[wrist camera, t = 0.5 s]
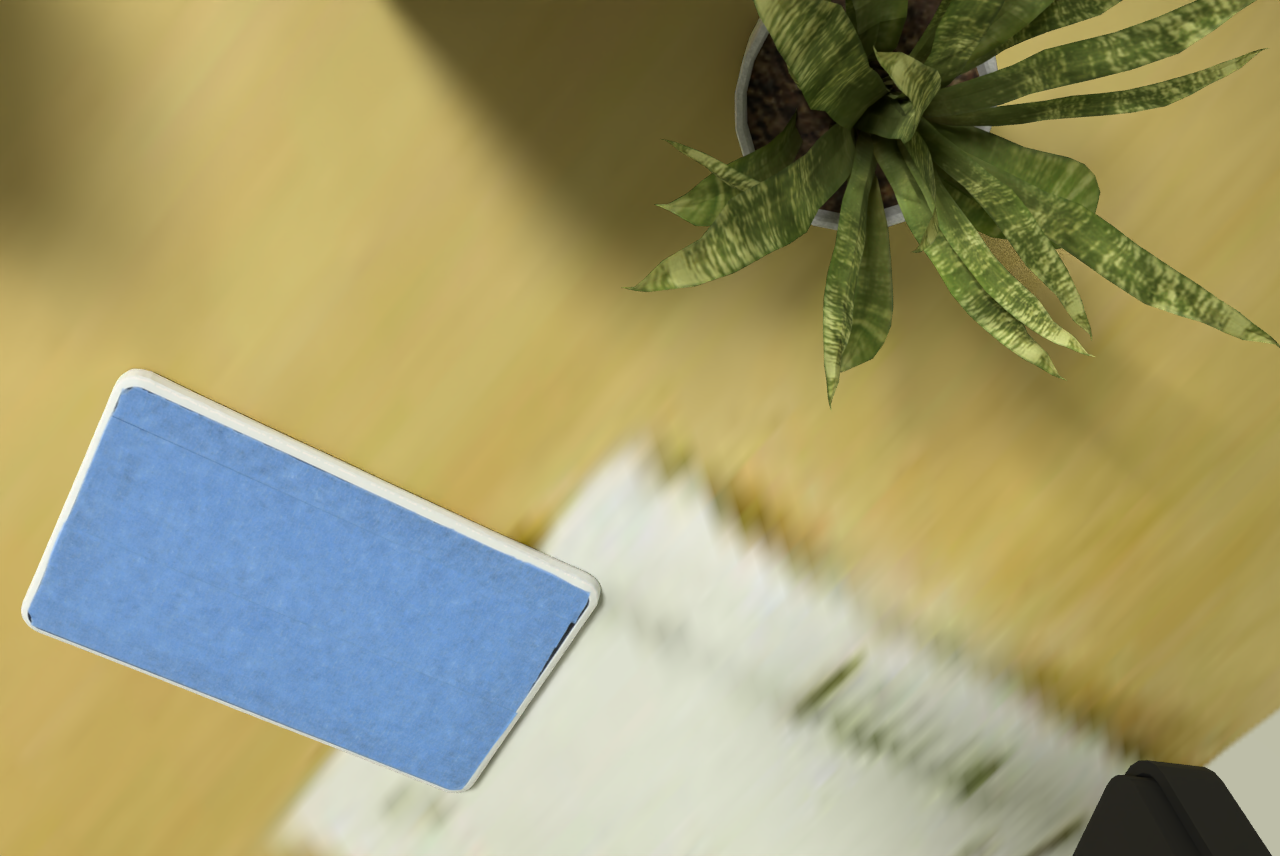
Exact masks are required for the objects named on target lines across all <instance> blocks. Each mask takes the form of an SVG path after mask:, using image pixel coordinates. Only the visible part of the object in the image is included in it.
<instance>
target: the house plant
mask: <svg viewBox="0 0 1280 856" xmlns="http://www.w3.org/2000/svg"><path fill="white" fill-rule="evenodd" d="M1121 1H1122V0H753V2H754V4H755V7H756V9H757V12H758V15H759V17H760V18H759V20H758V22H757V24H756V26H755V27H754V29H753V31H752V33H751V35H750V37H749V40H748V44H747V47H746V51H745V54H744V57H743V61H742V65H741V69H740V74H739V78H738V82H737V86H736V90H735V130H736V134H737V137H738V141H739V144H740V148H741V151H742V154H743V157H741V158H739V159H737V160H735V161H733V162H731V163H729V164H727V165H726V164H724V163H722V162H720V161H719V160H717V159H715V158H713V157H711V156H709V155H707V154H705V153H703V152H700V151H698V150H695V149H693V148H690V147H687V146H685V145H682V144H679V143H676V142H673V141H669V140H666V141H667V142H669V143H670V144H672V145H673V146H674V147H675V148H676V149H678V150H679V151H680V152H682V153H683V154H685V155H687V156H689V157H690V158H692V159H694V160H695V161H697V162H698V163H700V164H702V165H703V166H705V167H706V168H708V169H709V170H710V171H711V172H712V174H711V175H709V176H708V177H707V178H705V179H704V180H703V181H701V182H700V183H699V184H698V185H697V186H695V187H694V188H693V189H692V190H691V191H690V192H688V193H687V194H685V195H684V196H682V197H680V198H678V199H676V200H675V201H673V202H671V203H669V204H654V205H656V206H659V207H661V208H664V209H667V210H669V211H671V212H672V213H674V214H676V215H678V216H679V217H681V218H683V219H685V220H686V221H688V222H690V223H691V224H693V225H695V226H710V227H709V228H708V230H707V231H706V232H705V234H704V235H703V236H702V237H701V239H699V240H697V241H696V242H694V243H692V244H691V245H689V246H687V247H685V248H684V249H682V250H680V251H678V252H677V253H675V254H673V255H671V256H670V257H668V258H666V259H665V260H663V261H662V262H661V263H660V264H659V265H658V266H657V267H656V268H655V269H654V270H653V271H652V272H651V273H650V274H649V275H648V276H647V277H646V278H645V279H644V280H643V281H641V282H640V283H639V284H638V285H636V286H635V287H621V288H625V289H630V290H634V291H644V292H652V291H660V290H668V289H676V288H685V287H693V286H697V285H700V284H703V283H706V282H709V281H712V280H714V279H717V278H720V277H723V276H726V275H729V274H732V273H735V272H737V271H738V270H740V269H742V268H744V267H746V266H747V265H749V264H751V263H753V262H755V261H756V260H758V259H760V258H762V257H764V256H765V255H767V254H769V253H771V252H773V251H775V250H777V249H779V248H781V247H784V246H786V245H788V244H790V243H791V242H793V241H794V240H796V239H797V238H799V237H800V236H802V235H803V234H805V233H806V232H807V231H808V229H809V227H810V225H811V224H812V225H814V226H818V227H823V228H828V229H833V230H837V237H836V243H835V248H834V251H833V255H832V259H831V262H830V266H829V270H828V274H827V280H826V287H825V293H824V306H823V338H824V367H825V373H826V380H827V393H828V400H829V405H830V409H831V402H832V399H833V396H834V393H835V390H836V388H837V385H838V383H839V376H840V372H843V371H846V370H848V369H851V368H853V367H855V366H857V365H859V364H862V363H864V362H866V361H868V360H871V359H873V358H874V356H875V355H876V353H877V352H878V351H879V349H880V348H881V347H882V345H883V344H884V342H885V340H886V337H887V335H888V332H889V329H890V327H891V320H892V312H893V287H892V270H891V256H890V244H889V232H888V227H889V226H892V225H895V224H898V223H901V222H905V221H906V223H907V225H908V227H909V228H910V230H911V232H912V233H913V235H914V236H915V238H916V240H917V241H918V243H919V244H920V245H919V246H918V248H917V249H916V250H915V251H912V252H915V253H917V252H922V251H923V250H924V252H925V253H926V254H927V256H928V257H929V259H930V260H931V262H932V263H933V264H934V266H935V267H936V269H937V271H938V273H939V274H940V276H941V278H942V279H943V281H944V283H945V284H946V286H947V288H948V289H949V291H950V293H951V294H952V295H953V297H954V298H955V299H956V300H957V301H958V302H959V304H960V305H961V306H962V307H963V308H964V310H965V311H966V312H967V313H968V314H969V315H970V316H971V317H972V318H973V319H974V320H975V321H976V322H977V323H978V324H979V325H980V326H981V327H983V328H984V329H985V330H986V331H987V332H988V333H990V334H991V335H992V336H993V337H994V338H996V339H997V340H998V341H999V342H1001V343H1002V344H1003V345H1004V346H1006V347H1007V348H1008V349H1010V350H1011V351H1013V352H1014V353H1015V354H1017V355H1018V356H1020V357H1021V358H1022V359H1024V360H1026V361H1028V362H1030V363H1032V364H1034V365H1036V366H1038V367H1040V368H1041V369H1043V370H1045V371H1046V372H1048V373H1049V374H1051V375H1053V376H1056V377H1058V378H1061V379H1064V378H1062V377H1061V376H1060V375H1059V374H1058V372H1057V370H1056V369H1055V367H1054V365H1053V363H1052V361H1051V359H1050V357H1049V356H1048V354H1047V353H1046V352H1045V351H1044V350H1043V349H1042V348H1041V347H1040V346H1039V345H1038V344H1037V343H1036V342H1035V341H1034V340H1033V339H1032V338H1031V337H1030V335H1029V334H1028V333H1027V331H1026V329H1025V326H1024V324H1025V325H1026V326H1027V327H1029V328H1030V329H1031V330H1033V331H1034V332H1036V333H1038V334H1039V335H1041V336H1042V337H1044V338H1046V339H1048V340H1050V341H1052V342H1054V343H1056V344H1058V345H1061V346H1064V347H1067V348H1070V349H1072V350H1074V351H1077V352H1079V353H1081V354H1085V355H1088V356H1092V355H1090V354H1088V353H1087V352H1086V350H1085V349H1084V348H1083V347H1082V346H1081V345H1080V343H1079V342H1078V341H1077V340H1076V338H1075V337H1074V336H1072V335H1071V334H1070V333H1068V332H1067V331H1065V330H1064V329H1063V328H1061V327H1060V326H1059V325H1057V324H1056V323H1055V322H1053V320H1052V319H1051V317H1050V316H1049V314H1048V312H1047V311H1046V310H1045V308H1044V307H1043V306H1042V304H1041V303H1040V302H1039V300H1038V299H1037V298H1036V297H1035V296H1034V295H1033V294H1032V293H1031V292H1030V291H1029V290H1028V289H1027V288H1025V287H1024V286H1023V285H1022V284H1021V283H1020V282H1019V281H1018V280H1017V279H1015V278H1014V277H1013V276H1012V275H1011V274H1010V273H1009V272H1008V271H1007V270H1006V269H1005V268H1004V266H1003V265H1002V264H1001V263H1000V262H999V261H998V260H997V259H996V258H995V257H994V255H993V254H992V253H991V251H990V250H989V248H988V247H987V245H986V244H985V242H984V241H983V239H982V238H981V237H980V235H979V234H978V232H977V231H979V232H981V233H983V234H986V235H988V236H990V237H993V238H1001V239H1008V241H1009V242H1010V243H1011V245H1012V246H1013V248H1014V249H1015V251H1016V252H1017V253H1018V255H1019V256H1020V258H1021V259H1022V260H1023V262H1024V263H1025V265H1026V266H1027V267H1028V268H1029V269H1030V270H1031V271H1032V272H1033V273H1034V274H1035V275H1036V276H1037V277H1038V278H1039V279H1040V280H1041V281H1042V282H1043V283H1044V284H1045V285H1046V286H1047V287H1048V288H1049V289H1050V290H1051V291H1052V292H1053V293H1054V294H1055V295H1056V296H1057V297H1058V298H1059V300H1060V301H1061V303H1062V305H1063V306H1064V308H1065V309H1066V311H1067V312H1068V314H1069V315H1070V316H1071V318H1072V319H1073V321H1074V322H1076V323H1077V324H1078V325H1079V326H1081V327H1082V328H1083V329H1084V330H1085V331H1086V332H1088V333H1089V334H1090V337H1091V340H1092V334H1091V328H1090V325H1089V322H1088V319H1087V316H1086V313H1085V310H1084V307H1083V303H1082V300H1081V298H1080V296H1079V294H1078V292H1077V290H1076V287H1075V285H1074V283H1073V281H1072V279H1071V277H1070V274H1069V272H1068V270H1067V268H1066V267H1065V265H1064V263H1063V262H1062V260H1061V258H1060V257H1059V255H1058V253H1057V252H1056V250H1055V249H1059V248H1063V249H1064V250H1066V251H1067V252H1069V253H1070V254H1072V255H1073V256H1075V257H1076V258H1077V259H1079V260H1080V261H1082V262H1083V263H1085V264H1086V265H1087V266H1089V267H1090V268H1092V269H1093V270H1094V271H1096V272H1097V273H1099V274H1100V275H1102V276H1103V277H1104V278H1106V279H1107V280H1109V281H1110V282H1112V283H1113V284H1115V285H1116V286H1118V287H1119V288H1121V289H1123V290H1124V291H1126V292H1127V293H1129V294H1130V295H1132V296H1133V297H1135V298H1137V299H1138V300H1140V301H1141V302H1143V303H1144V304H1147V305H1150V306H1153V307H1155V308H1158V309H1161V310H1164V311H1167V312H1170V313H1173V314H1176V315H1179V316H1182V317H1186V318H1189V319H1193V320H1196V321H1200V322H1203V323H1205V324H1207V325H1210V326H1212V327H1214V328H1216V329H1218V330H1220V331H1223V332H1225V333H1227V334H1230V335H1232V336H1235V337H1237V338H1240V339H1242V340H1248V341H1256V342H1264V343H1270V344H1276V345H1277V346H1278V347H1279V348H1280V346H1279V344H1278V343H1277V342H1276V341H1275V340H1274V339H1273V338H1272V337H1271V336H1270V335H1268V334H1267V333H1266V332H1264V331H1263V330H1261V329H1260V328H1259V327H1257V326H1256V325H1255V324H1253V323H1252V322H1251V321H1250V320H1248V319H1247V318H1246V317H1245V316H1243V315H1242V314H1241V313H1240V312H1238V311H1237V310H1235V309H1233V308H1232V307H1230V306H1229V305H1227V304H1226V303H1224V302H1223V301H1221V300H1219V299H1218V298H1217V297H1215V296H1214V295H1212V294H1211V293H1210V292H1208V291H1207V290H1205V289H1204V288H1202V287H1201V286H1200V285H1198V284H1197V283H1195V282H1193V281H1192V280H1190V279H1189V278H1187V277H1186V276H1184V275H1182V274H1181V273H1179V272H1178V271H1176V270H1175V269H1173V268H1171V267H1170V266H1168V265H1167V264H1165V263H1164V262H1162V261H1161V260H1159V259H1158V258H1156V257H1155V256H1153V255H1152V254H1150V253H1149V252H1147V251H1146V250H1144V249H1143V248H1141V247H1140V246H1138V245H1137V244H1136V243H1134V242H1133V241H1132V240H1130V239H1129V238H1128V237H1126V236H1125V235H1124V234H1123V233H1121V232H1120V231H1119V230H1117V229H1116V228H1115V227H1113V226H1112V225H1111V224H1109V223H1108V222H1106V221H1105V220H1103V219H1102V218H1100V217H1099V216H1098V215H1096V214H1095V212H1096V208H1097V204H1098V199H1099V195H1100V190H1099V187H1098V184H1097V180H1096V177H1095V175H1094V174H1093V173H1092V172H1091V171H1090V170H1089V169H1088V168H1087V166H1086V165H1085V164H1082V163H1080V162H1078V161H1076V160H1073V159H1071V158H1069V157H1064V156H1060V155H1055V154H1051V153H1046V152H1042V151H1038V150H1034V149H1029V148H1025V147H1023V146H1020V145H1018V144H1016V143H1013V142H1011V141H1009V140H1006V139H1004V138H1002V137H999V136H997V135H995V134H992V133H990V129H991V126H1003V125H1014V124H1024V123H1030V122H1036V121H1042V120H1050V119H1063V118H1076V117H1089V116H1102V115H1113V114H1123V113H1132V112H1137V111H1143V110H1148V109H1153V108H1158V107H1164V106H1167V105H1169V104H1171V103H1174V102H1176V101H1178V100H1180V99H1183V98H1185V97H1187V96H1189V95H1191V94H1193V93H1195V92H1197V91H1198V90H1200V89H1202V88H1204V87H1206V86H1207V85H1209V84H1211V83H1213V82H1215V81H1217V80H1219V79H1221V78H1223V77H1225V76H1227V75H1229V74H1231V73H1233V72H1234V71H1236V70H1238V69H1240V68H1241V67H1242V66H1244V65H1245V64H1246V63H1247V62H1248V61H1249V60H1251V59H1252V58H1253V57H1254V56H1255V55H1257V54H1258V53H1259V52H1260V51H1262V50H1265V49H1268V48H1265V49H1260V50H1257V51H1253V52H1251V53H1248V54H1246V55H1243V56H1241V57H1238V58H1235V59H1232V60H1229V61H1226V62H1223V63H1220V64H1218V65H1215V66H1213V67H1210V68H1207V69H1205V70H1202V71H1198V72H1195V73H1192V74H1188V75H1185V76H1181V77H1178V78H1174V79H1171V80H1167V81H1164V82H1160V83H1156V84H1152V85H1148V86H1143V87H1139V88H1135V89H1130V90H1125V91H1117V92H1109V93H1100V94H1088V95H1076V96H1069V97H1063V98H1057V99H1052V100H1046V101H1040V102H1031V103H1023V104H1015V105H1007V106H999V107H997V105H1001V104H1004V103H1007V102H1010V101H1012V100H1015V99H1018V98H1020V97H1023V96H1026V95H1028V94H1032V93H1036V92H1040V91H1044V90H1049V89H1053V88H1057V87H1061V86H1066V85H1070V84H1074V83H1079V82H1083V81H1087V80H1092V79H1096V78H1100V77H1104V76H1108V75H1112V74H1116V73H1120V72H1124V71H1128V70H1132V69H1135V68H1138V67H1141V66H1143V65H1146V64H1149V63H1152V62H1155V61H1158V60H1161V59H1164V58H1167V57H1169V56H1172V55H1175V54H1178V53H1180V52H1182V51H1183V50H1185V49H1186V48H1188V47H1189V46H1191V45H1192V44H1194V43H1195V42H1197V41H1198V40H1200V39H1201V38H1203V37H1204V36H1206V35H1207V34H1209V33H1211V32H1212V31H1214V30H1215V29H1216V28H1218V27H1219V26H1220V25H1222V24H1223V23H1224V22H1226V21H1227V20H1228V19H1229V18H1231V17H1232V16H1233V15H1235V14H1236V13H1237V12H1239V11H1240V10H1242V9H1243V8H1245V7H1246V6H1248V5H1250V4H1251V3H1253V2H1254V1H1256V0H1196V1H1194V2H1192V3H1189V4H1187V5H1185V6H1182V7H1180V8H1178V9H1175V10H1173V11H1171V12H1169V13H1166V14H1164V15H1162V16H1159V17H1157V18H1154V19H1151V20H1149V21H1146V22H1143V23H1140V24H1137V25H1134V26H1132V27H1129V28H1126V29H1123V30H1120V31H1117V32H1115V33H1111V34H1106V35H1102V36H1098V37H1094V38H1090V39H1086V40H1082V41H1078V42H1074V43H1070V44H1065V45H1061V46H1057V47H1053V48H1049V49H1045V50H1043V51H1041V52H1039V53H1037V54H1035V55H1033V56H1030V57H1028V58H1026V59H1024V60H1022V61H1020V62H1018V63H1016V64H1014V65H1012V66H1009V67H1006V68H1003V69H1000V70H998V68H997V63H996V57H995V56H996V55H997V54H999V53H1000V52H1002V51H1003V50H1005V49H1007V48H1010V47H1012V46H1014V45H1016V44H1019V43H1021V42H1023V41H1025V40H1028V39H1030V38H1033V37H1036V36H1038V35H1041V34H1043V33H1046V32H1049V31H1052V30H1055V29H1058V28H1062V27H1065V26H1068V25H1071V24H1074V23H1077V22H1080V21H1083V20H1086V19H1089V18H1092V17H1095V16H1098V15H1101V14H1102V13H1104V12H1105V11H1107V10H1108V9H1110V8H1111V7H1113V6H1114V5H1116V4H1117V3H1119V2H1121ZM662 140H664V139H662ZM976 230H977V231H976ZM1093 357H1095V356H1093ZM1064 380H1065V379H1064Z"/></svg>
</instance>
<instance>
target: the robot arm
mask: <svg viewBox="0 0 1280 856" xmlns="http://www.w3.org/2000/svg"><path fill="white" fill-rule="evenodd" d="M1073 856H1272V855H1271V854H1270V852H1269V851H1268V849H1267V848H1266V846H1265V845H1264V843H1263V842H1262V840H1261V839H1260V837H1259V836H1258V834H1257V833H1256V831H1255V830H1254V828H1253V827H1252V825H1251V824H1250V822H1249V820H1248V819H1247V818H1246V816H1245V814H1244V813H1243V811H1242V810H1241V808H1240V807H1239V805H1238V804H1237V802H1236V801H1235V800H1234V798H1233V796H1232V795H1231V793H1230V792H1229V790H1228V789H1227V787H1226V786H1225V784H1224V783H1223V781H1222V780H1221V779H1220V778H1219V777H1218V776H1217V775H1216V773H1215V772H1213V771H1211V770H1209V769H1207V768H1205V767H1199V766H1190V765H1182V764H1173V763H1165V762H1156V761H1148V760H1145V761H1137V762H1136V763H1134V764H1133V765H1131V766H1130V768H1129V769H1128V771H1127V772H1126V773H1125V775H1117V776H1115V777H1114V778H1112V779H1111V780H1110V782H1109V783H1108V785H1107V786H1106V788H1105V790H1104V792H1103V794H1102V796H1101V798H1100V801H1099V803H1098V805H1097V807H1096V809H1095V811H1094V813H1093V815H1092V817H1091V819H1090V821H1089V823H1088V825H1087V827H1086V829H1085V831H1084V833H1083V835H1082V837H1081V840H1080V842H1079V844H1078V846H1077V848H1076V850H1075V852H1074V854H1073Z"/></svg>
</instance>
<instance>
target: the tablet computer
mask: <svg viewBox="0 0 1280 856" xmlns="http://www.w3.org/2000/svg"><path fill="white" fill-rule="evenodd" d="M600 593H601V587H600V584H599V582H598V581H597V580H596V578H594V577H593V576H592V575H591V574H589V573H587V572H585V571H583V570H581V569H579V568H576V567H574V566H572V565H570V564H567V563H565V562H563V561H560V560H558V559H556V558H554V557H551V556H549V555H547V554H544V553H542V552H540V551H538V550H535V549H533V548H531V547H528V546H526V545H524V544H522V543H519V542H517V541H515V540H513V539H510V538H508V537H506V536H504V535H501V534H499V533H497V532H495V531H492V530H490V529H488V528H486V527H484V526H482V525H479V524H477V523H475V522H473V521H471V520H469V519H466V518H464V517H462V516H460V515H458V514H456V513H453V512H451V511H449V510H447V509H445V508H442V507H440V506H438V505H436V504H434V503H431V502H429V501H427V500H425V499H423V498H421V497H418V496H416V495H414V494H412V493H410V492H408V491H405V490H403V489H401V488H399V487H397V486H395V485H392V484H390V483H388V482H386V481H384V480H382V479H380V478H377V477H375V476H373V475H371V474H369V473H367V472H365V471H363V470H360V469H358V468H356V467H354V466H352V465H350V464H348V463H346V462H343V461H341V460H339V459H337V458H335V457H333V456H330V455H328V454H326V453H324V452H322V451H320V450H317V449H315V448H313V447H311V446H309V445H306V444H304V443H302V442H300V441H298V440H295V439H293V438H291V437H289V436H287V435H285V434H282V433H280V432H278V431H276V430H274V429H272V428H270V427H267V426H265V425H263V424H261V423H259V422H257V421H255V420H253V419H250V418H248V417H246V416H244V415H242V414H240V413H238V412H236V411H233V410H231V409H229V408H227V407H225V406H223V405H221V404H218V403H216V402H214V401H212V400H210V399H208V398H205V397H203V396H201V395H199V394H197V393H195V392H193V391H191V390H189V389H187V388H185V387H183V386H181V385H179V384H176V383H174V382H172V381H170V380H168V379H166V378H164V377H162V376H160V375H158V374H156V373H154V372H152V371H148V370H144V369H130V370H129V371H127V372H125V373H124V374H122V375H121V376H120V378H119V379H118V380H117V382H116V384H115V386H114V388H113V390H112V393H111V395H110V398H109V400H108V403H107V405H106V408H105V410H104V412H103V414H102V417H101V419H100V421H99V424H98V427H97V429H96V431H95V433H94V436H93V438H92V440H91V443H90V446H89V448H88V450H87V453H86V455H85V458H84V460H83V462H82V465H81V467H80V469H79V472H78V474H77V476H76V479H75V481H74V483H73V486H72V488H71V491H70V493H69V495H68V497H67V500H66V502H65V504H64V507H63V509H62V512H61V514H60V516H59V519H58V521H57V524H56V526H55V528H54V531H53V533H52V536H51V538H50V540H49V542H48V545H47V547H46V549H45V552H44V554H43V556H42V559H41V561H40V564H39V566H38V568H37V570H36V573H35V575H34V577H33V580H32V582H31V584H30V587H29V589H28V592H27V594H26V596H25V598H24V600H23V604H22V607H21V613H22V617H23V619H24V621H25V622H26V623H27V624H28V626H30V627H31V628H32V629H33V630H35V631H37V632H39V633H42V634H44V635H47V636H50V637H52V638H55V639H57V640H60V641H62V642H65V643H68V644H71V645H73V646H76V647H78V648H80V649H83V650H86V651H88V652H91V653H94V654H96V655H99V656H101V657H104V658H106V659H109V660H111V661H114V662H117V663H119V664H122V665H124V666H127V667H130V668H132V669H135V670H137V671H140V672H142V673H145V674H148V675H150V676H153V677H155V678H158V679H160V680H163V681H165V682H168V683H171V684H173V685H176V686H178V687H181V688H183V689H186V690H188V691H191V692H193V693H196V694H198V695H201V696H203V697H206V698H209V699H211V700H214V701H216V702H219V703H221V704H224V705H226V706H229V707H231V708H234V709H236V710H239V711H241V712H244V713H247V714H249V715H252V716H254V717H257V718H259V719H262V720H264V721H267V722H270V723H272V724H275V725H277V726H280V727H283V728H285V729H288V730H290V731H293V732H295V733H298V734H301V735H303V736H306V737H308V738H311V739H313V740H316V741H319V742H321V743H323V744H326V745H329V746H331V747H334V748H336V749H339V750H341V751H344V752H346V753H349V754H352V755H354V756H357V757H359V758H362V759H364V760H367V761H369V762H372V763H374V764H377V765H379V766H382V767H385V768H388V769H390V770H393V771H395V772H397V773H400V774H403V775H405V776H407V777H410V778H412V779H415V780H417V781H420V782H423V783H425V784H428V785H430V786H433V787H435V788H437V789H440V790H443V791H446V792H450V793H458V792H463V791H466V790H468V789H470V788H471V787H472V786H473V784H474V783H475V782H476V780H477V779H478V777H479V776H480V774H481V773H482V771H483V770H484V769H485V767H486V766H487V764H488V763H489V761H490V760H491V758H492V757H493V755H494V754H495V752H496V751H497V749H498V748H499V747H500V745H501V744H502V742H503V741H504V739H505V738H506V736H507V735H508V734H509V732H510V731H511V729H512V728H513V726H514V725H515V724H516V722H517V721H518V719H519V718H520V716H521V715H522V713H523V712H524V711H525V709H526V707H527V706H528V704H529V703H530V702H531V700H532V699H533V697H534V696H535V695H536V693H537V692H538V690H539V689H540V687H541V686H542V684H543V683H544V681H545V680H546V679H547V677H548V676H549V674H550V673H551V672H552V670H553V668H554V667H555V665H556V664H557V663H558V661H559V660H560V658H561V657H562V655H563V654H564V652H565V651H566V649H567V648H568V647H569V645H570V644H571V642H572V641H573V639H574V638H575V636H576V635H577V633H578V632H579V630H580V629H581V628H582V626H583V625H584V623H585V622H586V620H587V619H588V618H589V616H590V615H591V613H592V612H593V610H594V609H595V607H596V606H597V604H598V600H599V597H600Z"/></svg>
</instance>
